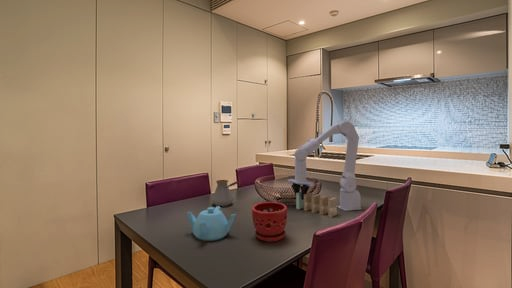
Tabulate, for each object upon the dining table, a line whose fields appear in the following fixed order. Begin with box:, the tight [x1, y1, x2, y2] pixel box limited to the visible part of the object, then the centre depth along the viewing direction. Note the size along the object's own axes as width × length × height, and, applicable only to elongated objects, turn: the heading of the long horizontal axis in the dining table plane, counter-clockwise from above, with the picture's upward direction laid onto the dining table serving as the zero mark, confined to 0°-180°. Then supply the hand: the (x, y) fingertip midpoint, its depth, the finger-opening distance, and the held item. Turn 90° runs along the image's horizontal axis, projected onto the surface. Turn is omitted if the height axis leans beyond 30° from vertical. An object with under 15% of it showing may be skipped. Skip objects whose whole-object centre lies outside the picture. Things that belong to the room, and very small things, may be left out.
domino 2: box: [311, 193, 321, 214], centre depth 138 cm, size 2×5×8 cm, turn 136°
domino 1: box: [303, 192, 313, 212], centre depth 141 cm, size 2×5×8 cm, turn 136°
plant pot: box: [251, 201, 288, 243], centre depth 107 cm, size 13×13×12 cm
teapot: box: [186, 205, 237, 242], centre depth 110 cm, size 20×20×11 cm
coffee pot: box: [211, 179, 241, 208], centre depth 148 cm, size 21×12×15 cm, turn 39°
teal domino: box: [295, 191, 304, 210], centre depth 144 cm, size 2×5×8 cm, turn 136°
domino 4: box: [327, 196, 338, 218], centre depth 132 cm, size 2×5×8 cm, turn 136°
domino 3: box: [319, 195, 329, 216], centre depth 135 cm, size 2×5×8 cm, turn 136°
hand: (300, 198), depth 144 cm, fingers open, 3 cm apart
